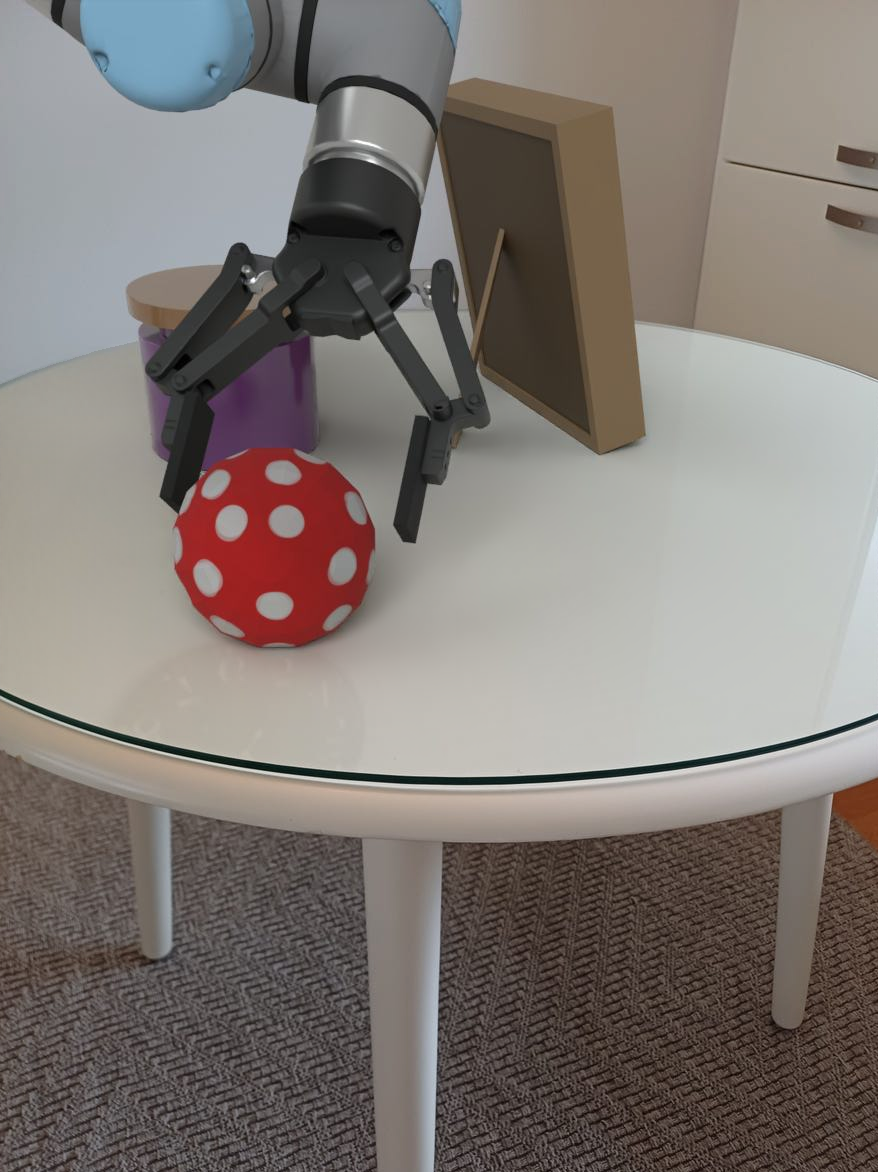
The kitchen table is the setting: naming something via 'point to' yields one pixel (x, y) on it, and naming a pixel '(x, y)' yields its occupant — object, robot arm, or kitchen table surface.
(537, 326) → the photo frame
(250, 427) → the jar
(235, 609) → the red polka-dot ball
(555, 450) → the kitchen table surface
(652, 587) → the kitchen table surface
